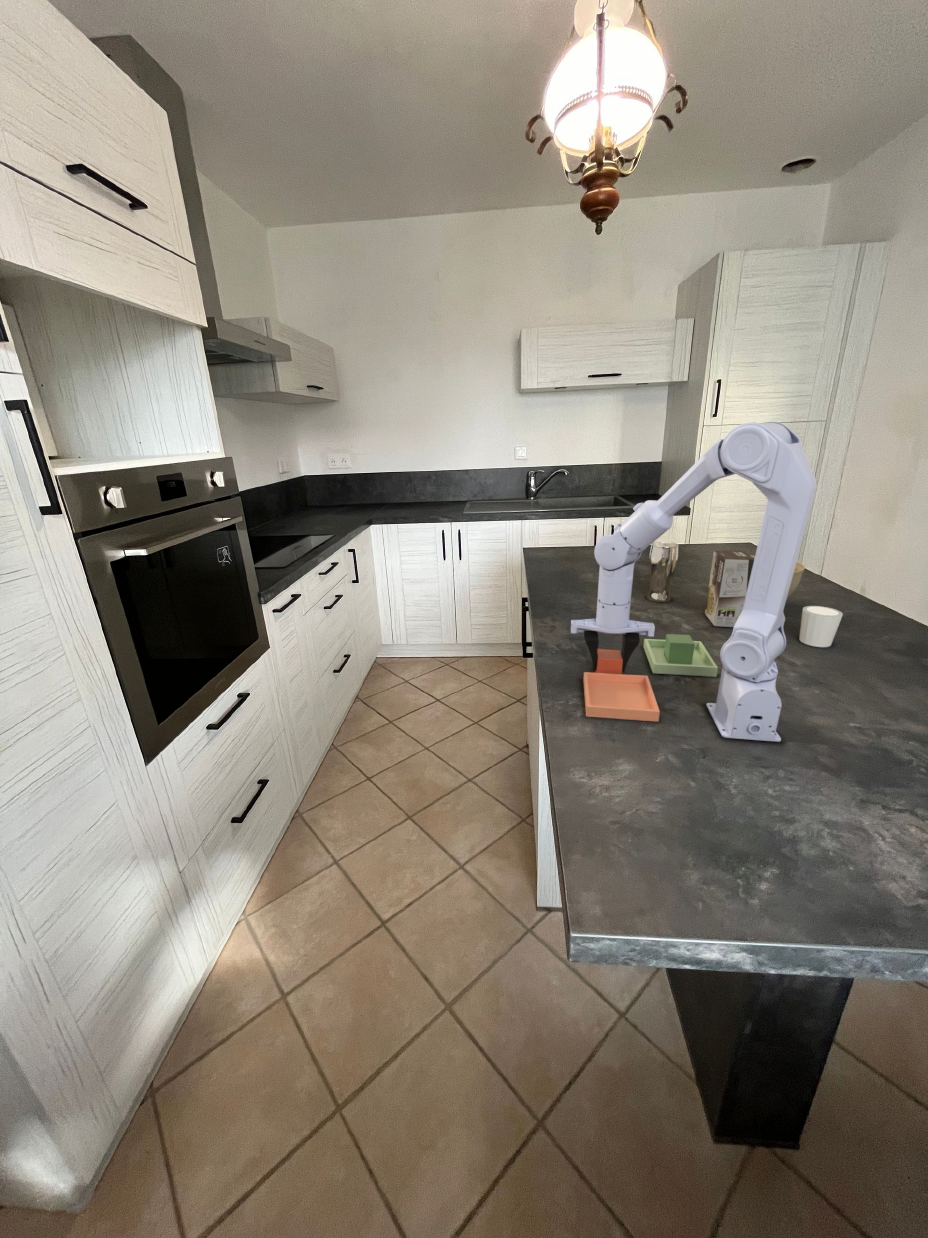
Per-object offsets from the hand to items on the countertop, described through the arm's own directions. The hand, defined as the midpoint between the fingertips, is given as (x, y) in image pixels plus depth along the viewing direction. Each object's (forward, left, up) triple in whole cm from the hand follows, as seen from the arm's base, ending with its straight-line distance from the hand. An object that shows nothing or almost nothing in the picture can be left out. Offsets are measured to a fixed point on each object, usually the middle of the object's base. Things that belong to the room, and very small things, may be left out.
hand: (608, 668), depth 92 cm
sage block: (+8, -14, -1) cm, 16 cm away
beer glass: (+47, -17, -2) cm, 50 cm away
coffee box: (+32, -29, -2) cm, 43 cm away
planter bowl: (+45, -41, -2) cm, 61 cm away
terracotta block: (0, 0, -1) cm, 1 cm away
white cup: (+21, -44, -2) cm, 49 cm away
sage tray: (+8, -14, -1) cm, 16 cm away
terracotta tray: (-9, -1, -1) cm, 9 cm away
